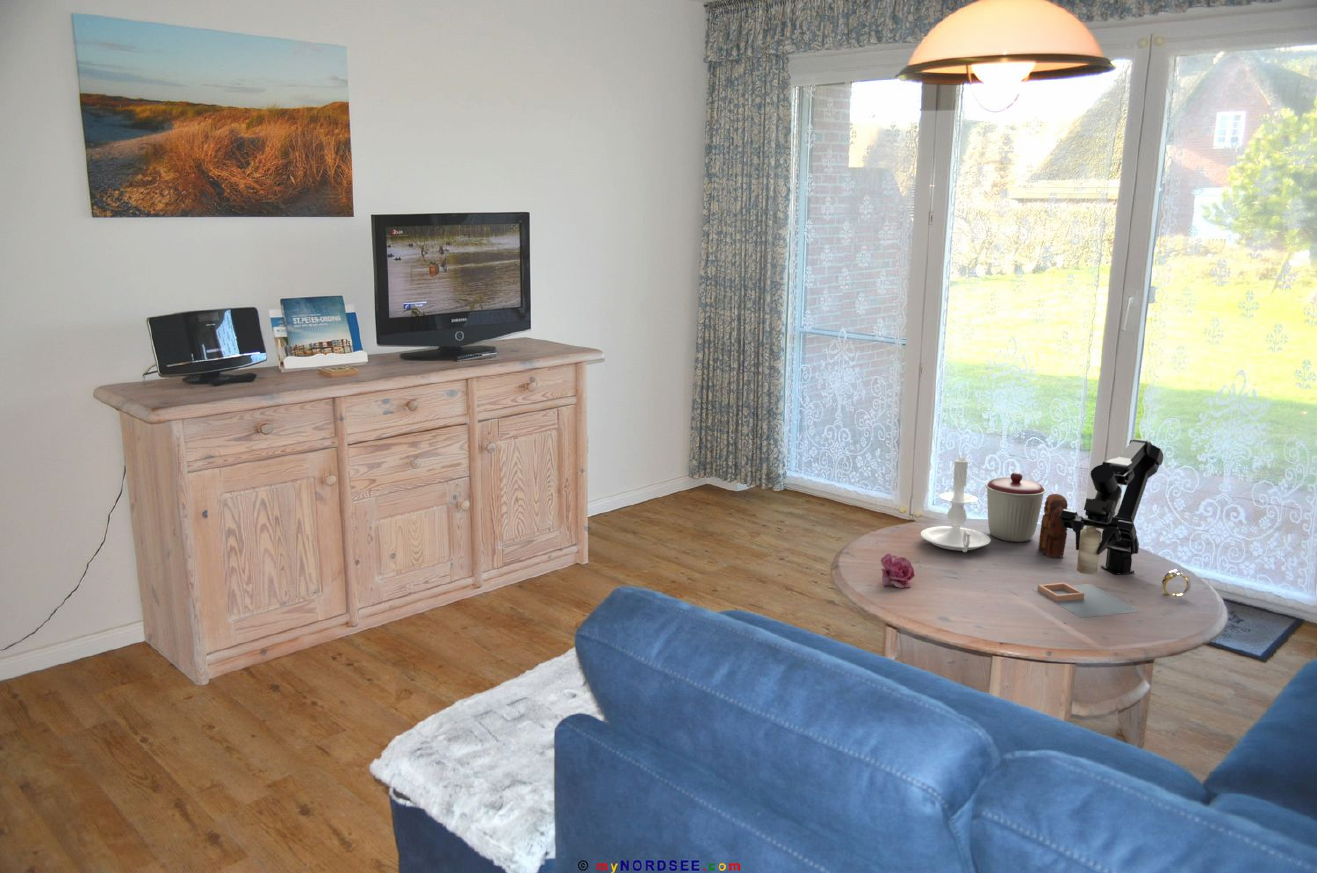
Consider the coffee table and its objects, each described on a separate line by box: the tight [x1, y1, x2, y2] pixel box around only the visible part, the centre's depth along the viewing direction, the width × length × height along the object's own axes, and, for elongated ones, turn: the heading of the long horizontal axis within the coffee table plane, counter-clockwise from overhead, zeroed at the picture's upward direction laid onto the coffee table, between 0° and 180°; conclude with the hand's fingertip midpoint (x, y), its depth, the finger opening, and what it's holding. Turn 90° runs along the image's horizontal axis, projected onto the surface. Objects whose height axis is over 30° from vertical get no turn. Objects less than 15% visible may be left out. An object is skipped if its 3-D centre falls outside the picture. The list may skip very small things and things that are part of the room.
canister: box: [984, 471, 1047, 543], centre depth 312 cm, size 18×18×21 cm
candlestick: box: [920, 457, 992, 553], centre depth 300 cm, size 21×25×28 cm
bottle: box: [1076, 526, 1102, 575], centre depth 263 cm, size 5×5×12 cm
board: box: [1032, 582, 1143, 619], centre depth 259 cm, size 20×18×2 cm
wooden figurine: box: [1038, 493, 1069, 559], centre depth 298 cm, size 12×6×18 cm, turn 176°
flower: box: [880, 552, 915, 589], centre depth 272 cm, size 10×9×9 cm
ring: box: [1161, 568, 1192, 599], centre depth 263 cm, size 7×3×8 cm, turn 79°
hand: (1087, 551), depth 262 cm, fingers closed on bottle, 5 cm apart
